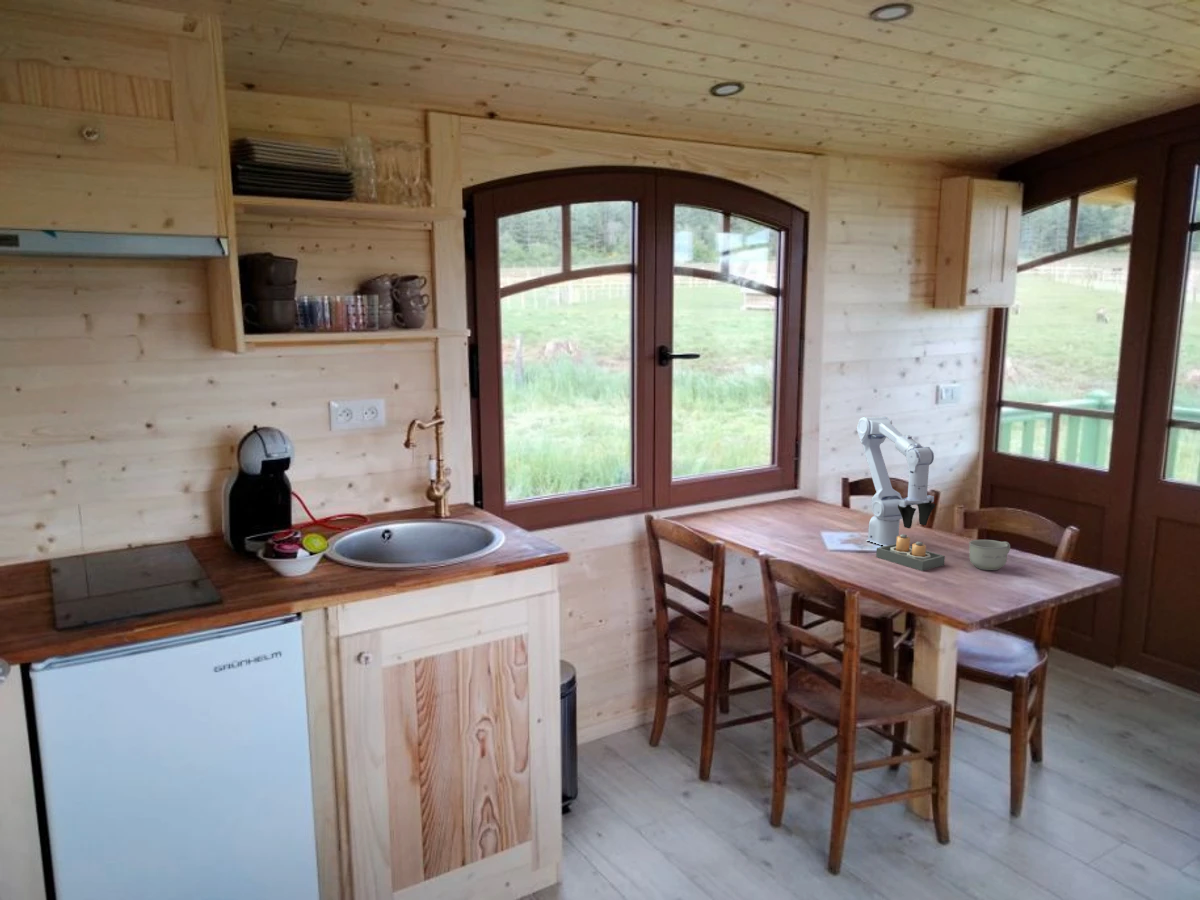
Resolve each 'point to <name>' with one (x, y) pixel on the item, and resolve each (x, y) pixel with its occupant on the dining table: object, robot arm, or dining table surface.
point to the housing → (912, 556)
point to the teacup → (988, 554)
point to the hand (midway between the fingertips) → (915, 526)
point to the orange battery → (903, 543)
